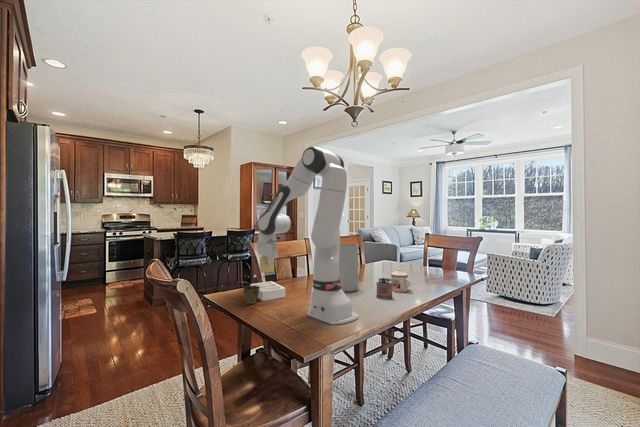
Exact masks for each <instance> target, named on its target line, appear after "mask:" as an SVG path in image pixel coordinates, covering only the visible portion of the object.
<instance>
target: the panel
mask: <svg viewBox="0 0 640 427" xmlns="http://www.w3.org/2000/svg"><path fill="white" fill-rule="evenodd" d="M259 272H260V273H263V274H264V273H271V272H275V258H274V259H272V260H271V265H270V266H268V265H267V257H266V256H263V255H261V256H259Z"/></svg>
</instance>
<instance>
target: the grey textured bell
mask: <svg viewBox="0 0 640 427" xmlns="http://www.w3.org/2000/svg"><path fill="white" fill-rule="evenodd" d="M258 295H259V286H256V285H253V287H252V285H251V286H250V285H245V286H244V287H243V296H244V299H245V300H246V301H247V304H248V305H254V304H255V303H256V300H257V299H259V298H258Z"/></svg>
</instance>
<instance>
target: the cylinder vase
mask: <svg viewBox="0 0 640 427" xmlns="http://www.w3.org/2000/svg"><path fill="white" fill-rule="evenodd" d="M339 279H340V282H341V283H343V284H341V285H343V286H342V288H341V289H342V290H343V292H344V293H345V292H347V293H350V292H356V291H358V289H359V244H357V243H340V252H339Z"/></svg>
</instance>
